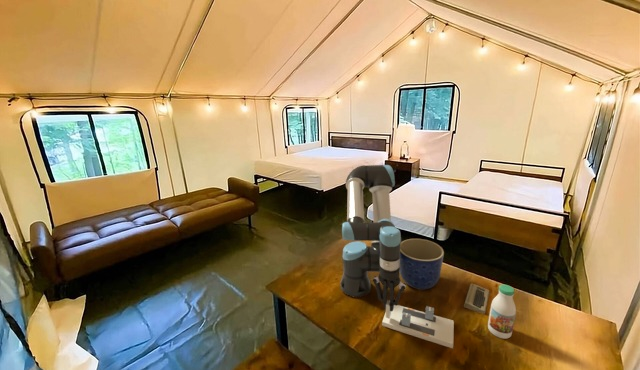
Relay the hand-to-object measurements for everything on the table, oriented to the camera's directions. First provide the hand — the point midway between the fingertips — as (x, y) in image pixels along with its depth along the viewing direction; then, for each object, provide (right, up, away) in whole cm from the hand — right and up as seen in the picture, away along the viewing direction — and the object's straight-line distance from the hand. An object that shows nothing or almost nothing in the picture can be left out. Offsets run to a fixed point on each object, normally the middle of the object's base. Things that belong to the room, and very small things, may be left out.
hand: (388, 315), depth 107 cm
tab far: (+17, 0, 0) cm, 17 cm away
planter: (+22, +5, +25) cm, 33 cm away
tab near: (+6, -2, -3) cm, 7 cm away
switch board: (+12, -3, -1) cm, 12 cm away
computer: (+43, +1, +11) cm, 44 cm away
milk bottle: (+42, -3, -6) cm, 42 cm away
